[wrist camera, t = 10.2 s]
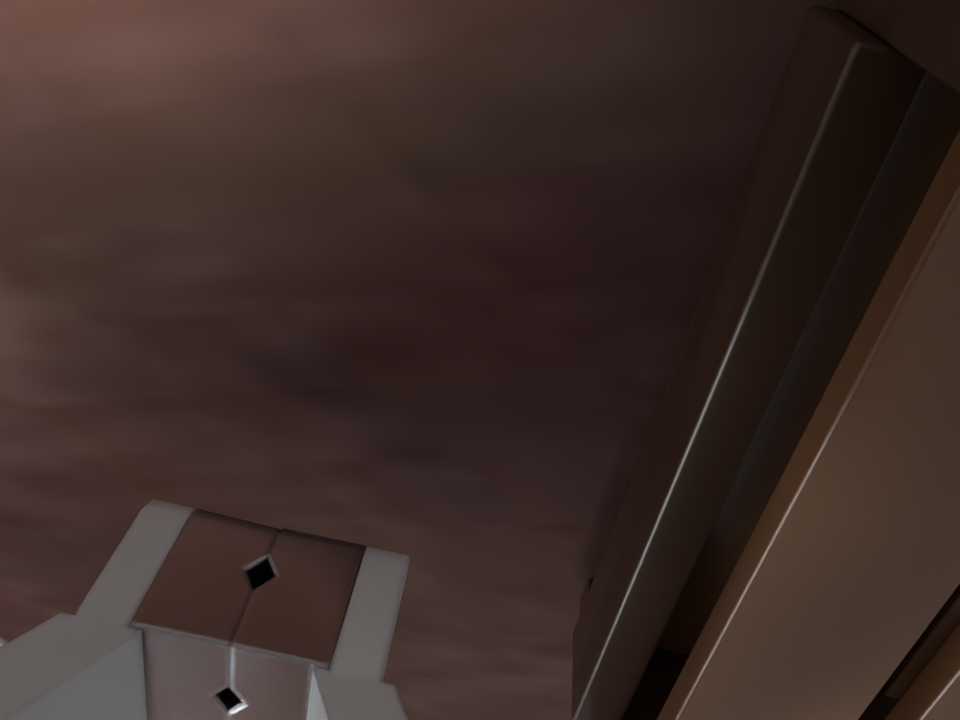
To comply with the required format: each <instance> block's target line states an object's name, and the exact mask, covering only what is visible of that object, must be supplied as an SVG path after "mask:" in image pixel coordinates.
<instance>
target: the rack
mask: <svg viewBox="0 0 960 720" xmlns="http://www.w3.org/2000/svg"><path fill="white" fill-rule="evenodd" d="M827 1H828V2H830V3H831V4H832V5H834V6H835V7H837V8H838V9H839V10H841V11H838V10H834V9H829V8H824V7H820V6H814V7H811V9H810V10H809V11H808V13H807V16H806V18H805V21H804V24H803V26H802V29H801V32H800V34H799V37H798V40H797V42H796V45H795V47H794V50H793V53H792V55H791V58H790V61H789V63H788V66H787V69H786V71H785V74H784V77H783V79H782V82H781V84H780V87H779V90H778V92H777V95H776V98H775V100H774V103H773V106H772V108H771V111H770V114H769V116H768V119H767V122H766V124H765V127H764V129H763V132H762V135H761V137H760V140H759V143H758V145H757V148H756V151H755V153H754V156H753V159H752V161H751V164H750V166H749V169H748V172H747V174H746V177H745V180H744V182H743V185H742V188H741V190H740V193H739V196H738V198H737V201H736V203H735V206H734V209H733V211H732V214H731V217H730V219H729V222H728V225H727V227H726V230H725V233H724V235H723V238H722V241H721V243H720V246H719V248H718V251H717V254H716V256H715V259H714V262H713V264H712V267H711V270H710V272H709V275H708V278H707V280H706V283H705V285H704V288H703V291H702V293H701V296H700V299H699V301H698V304H697V307H696V309H695V312H694V315H693V317H692V320H691V322H690V325H689V328H688V330H687V333H686V336H685V338H684V341H683V344H682V346H681V349H680V352H679V354H678V357H677V359H676V362H675V365H674V367H673V370H672V373H671V375H670V378H669V381H668V383H667V386H666V389H665V391H664V394H663V397H662V399H661V402H660V404H659V407H658V410H657V412H656V415H655V418H654V420H653V423H652V426H651V428H650V431H649V434H648V436H647V439H646V441H645V444H644V447H643V449H642V452H641V455H640V457H639V460H638V463H637V465H636V468H635V471H634V473H633V476H632V478H631V481H630V484H629V486H628V489H627V492H626V494H625V497H624V500H623V502H622V505H621V508H620V510H619V513H618V516H617V518H616V521H615V523H614V526H613V529H612V531H611V534H610V537H609V539H608V542H607V545H606V547H605V550H604V553H603V555H602V558H601V560H600V563H599V566H598V568H597V571H596V574H595V576H594V579H590V580H589V581H588V583H587V586H586V588H585V591H584V594H583V596H582V599H581V602H580V616H579V619H578V621H577V624H576V627H575V629H574V632H573V676H572V720H960V0H827Z"/></svg>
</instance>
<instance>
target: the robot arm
mask: <svg viewBox="0 0 960 720" xmlns="http://www.w3.org/2000/svg"><path fill="white" fill-rule="evenodd" d="M409 560H410V556H408V555H403V554H399V553H394V552H390V551H385V550H380V549H376V548H371V547H367V549H366V546H365V545H361V544H356V543H351V542H346V541H341V540H336V539H332V538H327V537H322V536H317V535H312V534H307V533H303V532H298V531H293V530H288V529H282V530H281V529H277V528H273V527H269V526H265V525H261V524H257V523H253V522H249V521H245V520H241V519H237V518H233V517H229V516H225V515H221V514H217V513H213V512H208V511H204V510H200V509H195V508H191V507H186V506H182V505H178V504H174V503H169V502H165V501H161V500H157V499H153V500H152V501H151V502H149V503H148V504H147V505H146V506H145V507H144V508H142V510H141V511H140V513H139V514H138V516H137V517H136V519H135V521H134V522H133V524H132V525H131V527H130V528H129V530H128V532H127V533H126V535H125V536H124V538H123V540H122V541H121V543H120V544H119V546H118V547H117V549H116V551H115V552H114V554H113V555H112V557H111V558H110V560H109V562H108V563H107V565H106V566H105V568H104V570H103V571H102V573H101V574H100V576H99V577H98V579H97V581H96V582H95V584H94V585H93V587H92V588H91V590H90V592H89V593H88V595H87V596H86V598H85V600H84V601H83V603H82V604H81V606H80V607H79V609H78V611H77V612H76V614H75V615H71V614H66V613H59V614H57V615H56V616H54V617H52V618H50V619H49V620H47V621H45V622H44V623H42V624H40V625H38V626H37V627H35V628H33V629H31V630H30V631H28V632H26V633H24V634H23V635H21V636H19V637H17V638H16V639H14V640H12V641H10V642H9V643H7V644H5V645H3V646H2V647H0V720H408V718H407V715H406V713H405V710H404V708H403V705H402V703H401V700H400V698H399V695H398V692H397V690H396V687H395V685H392V684H389V683H385V682H383V679H384V674H385V670H386V666H387V661H388V657H389V652H390V648H391V643H392V639H393V634H394V630H395V625H396V621H397V616H398V612H399V607H400V603H401V598H402V593H403V589H404V584H405V580H406V575H407V571H408V566H409Z"/></svg>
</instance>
